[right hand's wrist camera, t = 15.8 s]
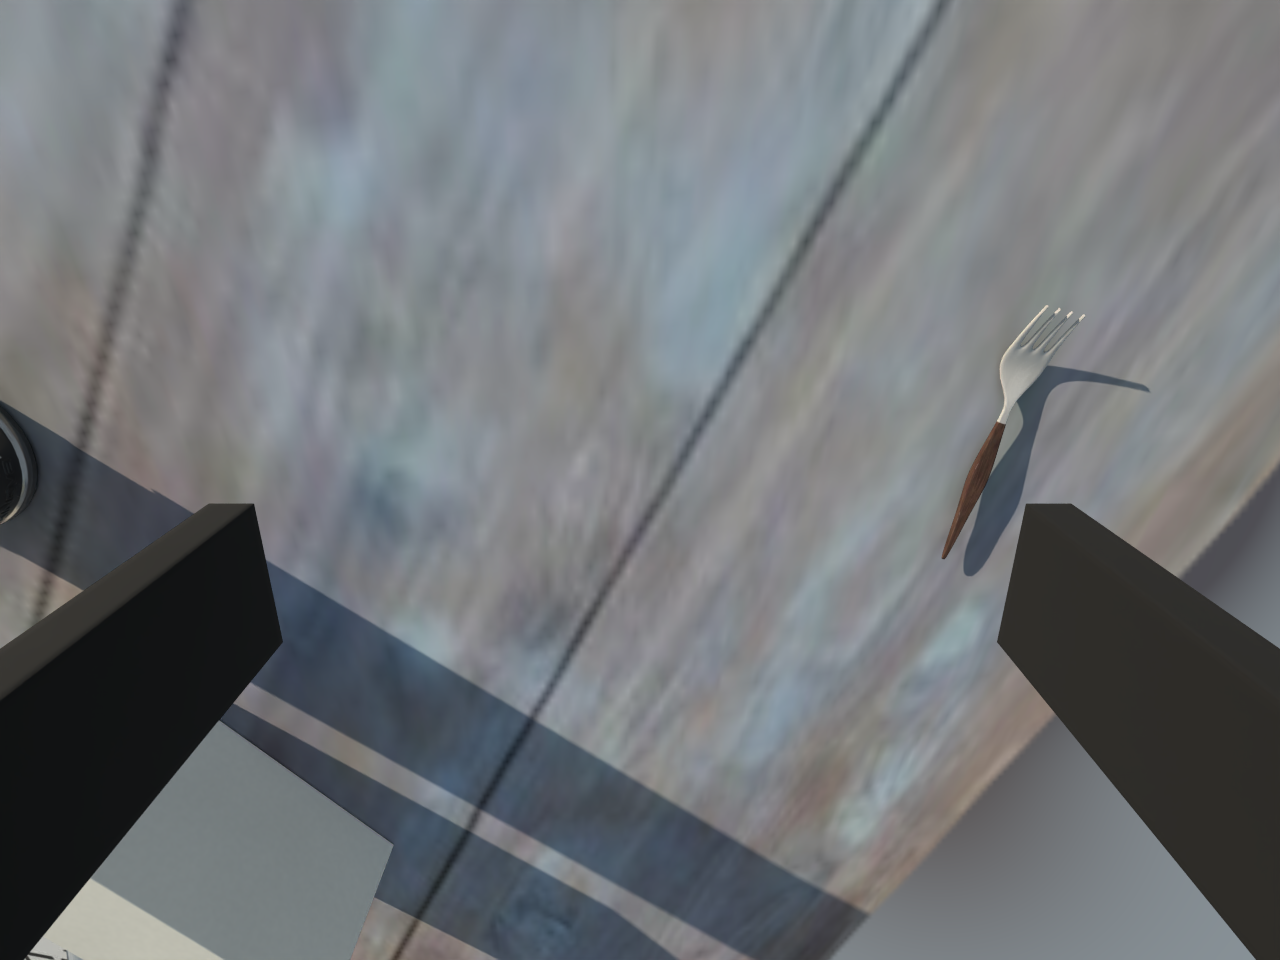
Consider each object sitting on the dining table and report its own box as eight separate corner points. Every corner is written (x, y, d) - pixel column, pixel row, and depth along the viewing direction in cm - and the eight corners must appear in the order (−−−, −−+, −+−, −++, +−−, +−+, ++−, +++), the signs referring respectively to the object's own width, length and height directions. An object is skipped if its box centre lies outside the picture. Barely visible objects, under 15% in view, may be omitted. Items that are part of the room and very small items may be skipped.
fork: (920, 550, 45) (932, 565, 44) (1025, 299, 40) (1044, 304, 38) (958, 559, 46) (972, 574, 44) (1068, 310, 40) (1089, 315, 38)
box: (36, 673, 49) (-156, 823, 37) (84, 623, 48) (-101, 762, 36) (345, 883, 56) (266, 1065, 44) (394, 844, 55) (326, 1022, 43)
